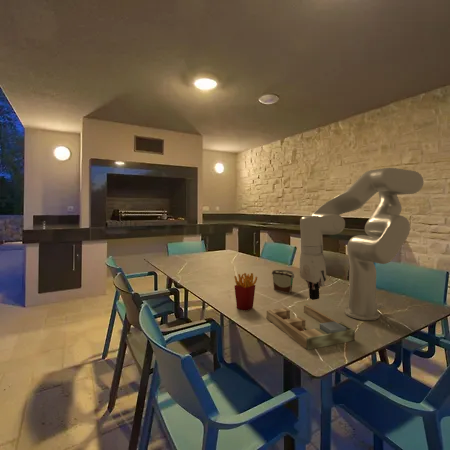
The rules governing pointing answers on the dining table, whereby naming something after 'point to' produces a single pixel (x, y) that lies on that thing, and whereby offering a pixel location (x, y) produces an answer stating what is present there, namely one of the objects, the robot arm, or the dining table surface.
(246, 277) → the french fries
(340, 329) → the block
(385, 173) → the robot arm
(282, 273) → the food container
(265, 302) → the dining table surface
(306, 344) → the channel
